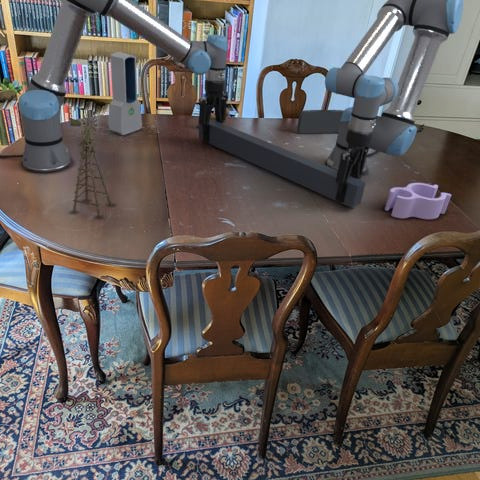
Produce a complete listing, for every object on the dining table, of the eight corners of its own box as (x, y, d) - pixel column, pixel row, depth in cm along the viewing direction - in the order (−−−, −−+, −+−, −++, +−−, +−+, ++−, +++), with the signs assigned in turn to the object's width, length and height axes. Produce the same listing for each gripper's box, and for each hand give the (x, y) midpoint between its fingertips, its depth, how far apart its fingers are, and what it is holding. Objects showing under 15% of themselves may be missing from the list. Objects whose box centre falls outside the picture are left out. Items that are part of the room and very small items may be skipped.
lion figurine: (226, 125, 208) (227, 105, 203) (230, 130, 204) (231, 109, 199) (194, 126, 203) (195, 106, 198) (197, 131, 199) (198, 110, 194)
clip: (399, 222, 147) (405, 203, 144) (377, 203, 157) (382, 185, 153) (449, 217, 154) (457, 198, 150) (426, 199, 163) (432, 181, 160)
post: (198, 138, 188) (199, 119, 184) (207, 136, 191) (208, 117, 187) (352, 208, 149) (357, 186, 145) (360, 203, 153) (365, 182, 148)
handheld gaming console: (340, 130, 217) (344, 109, 212) (343, 132, 215) (347, 111, 209) (295, 131, 210) (299, 109, 204) (298, 134, 208) (301, 111, 202)
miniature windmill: (98, 218, 133) (90, 115, 117) (71, 213, 134) (59, 110, 118) (112, 203, 141) (106, 105, 124) (86, 199, 142) (76, 100, 125)
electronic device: (121, 136, 186) (117, 57, 170) (107, 131, 189) (102, 53, 173) (142, 128, 196) (141, 53, 179) (129, 124, 199) (126, 49, 182)
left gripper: (204, 85, 167) (200, 147, 179) (238, 79, 178) (233, 137, 191) (190, 80, 171) (187, 141, 183) (224, 75, 182) (220, 132, 195)
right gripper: (355, 140, 133) (338, 211, 145) (385, 128, 144) (367, 194, 157) (333, 132, 137) (319, 202, 149) (364, 121, 148) (348, 186, 161)
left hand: (211, 139), depth 187 cm, fingers closed on post, 5 cm apart
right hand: (344, 198), depth 153 cm, fingers closed on post, 5 cm apart
